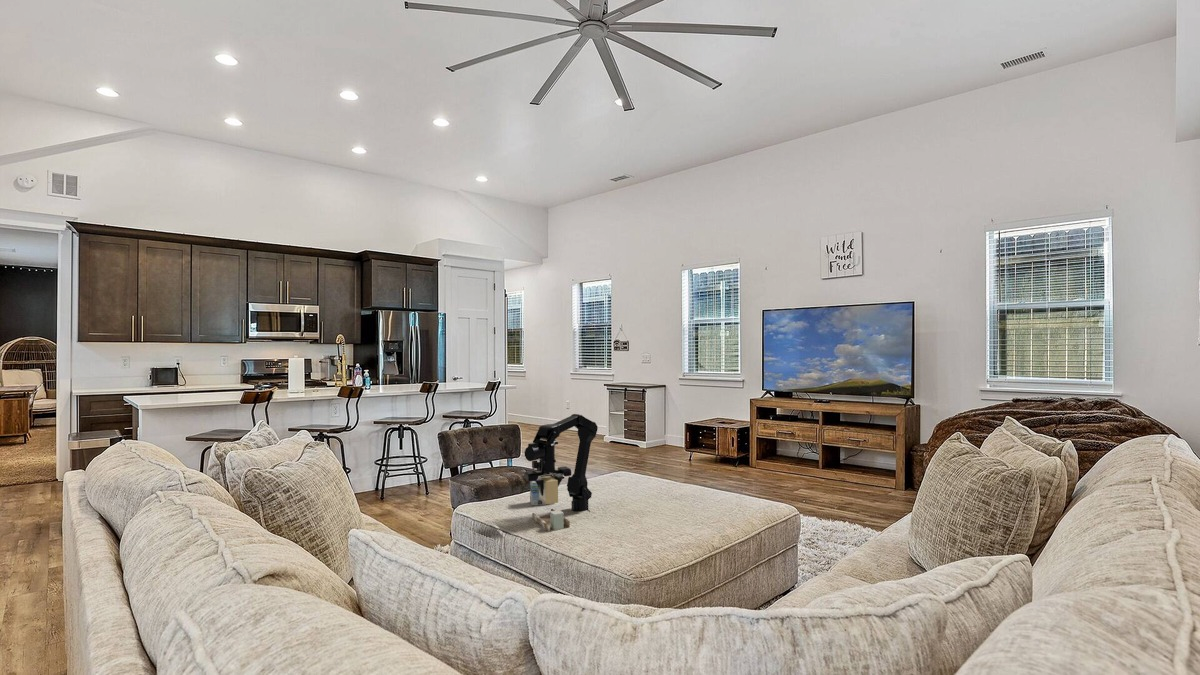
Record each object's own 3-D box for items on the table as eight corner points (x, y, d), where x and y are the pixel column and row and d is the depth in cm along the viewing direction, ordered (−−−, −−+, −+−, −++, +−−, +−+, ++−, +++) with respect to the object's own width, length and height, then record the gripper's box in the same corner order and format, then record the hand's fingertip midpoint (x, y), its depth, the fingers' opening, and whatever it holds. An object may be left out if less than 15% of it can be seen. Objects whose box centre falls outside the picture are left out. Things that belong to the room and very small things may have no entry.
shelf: (569, 529, 235) (569, 521, 235) (547, 533, 231) (547, 524, 231) (552, 516, 251) (552, 508, 251) (531, 520, 247) (531, 512, 247)
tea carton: (558, 502, 240) (557, 480, 240) (546, 504, 238) (545, 482, 238) (550, 497, 248) (550, 475, 248) (538, 498, 246) (538, 477, 245)
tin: (559, 525, 238) (559, 509, 237) (563, 528, 234) (563, 512, 234) (550, 527, 236) (550, 511, 236) (554, 530, 232) (554, 514, 232)
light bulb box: (532, 506, 267) (531, 482, 267) (529, 501, 273) (529, 478, 273) (555, 504, 270) (555, 480, 269) (552, 499, 276) (552, 476, 276)
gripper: (561, 450, 254) (561, 486, 254) (519, 455, 245) (520, 492, 246) (571, 455, 244) (572, 493, 244) (528, 460, 235) (529, 499, 236)
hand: (548, 494), depth 243 cm, fingers closed on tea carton, 5 cm apart
